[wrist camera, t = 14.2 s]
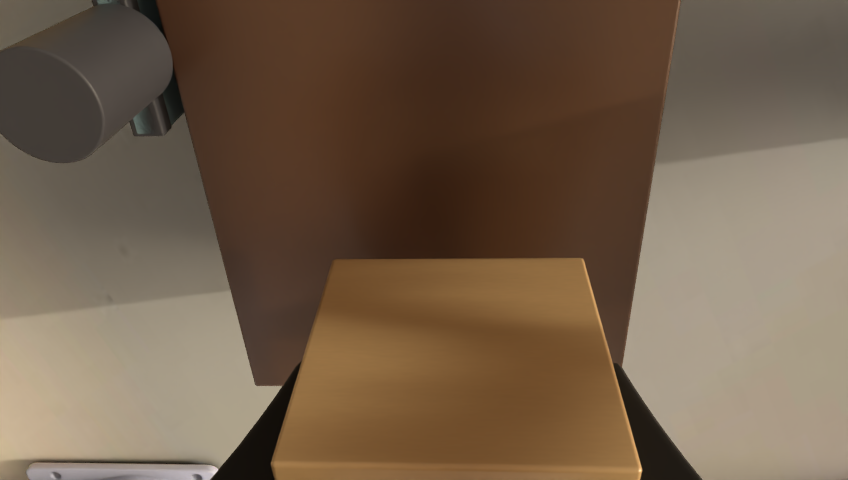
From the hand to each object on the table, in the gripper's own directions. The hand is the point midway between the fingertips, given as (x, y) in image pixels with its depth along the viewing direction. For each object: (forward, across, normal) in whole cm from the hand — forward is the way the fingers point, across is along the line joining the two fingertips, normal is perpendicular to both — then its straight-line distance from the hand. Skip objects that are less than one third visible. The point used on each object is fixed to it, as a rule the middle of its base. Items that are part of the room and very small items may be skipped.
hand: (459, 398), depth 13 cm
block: (+1, 0, 0) cm, 1 cm away
